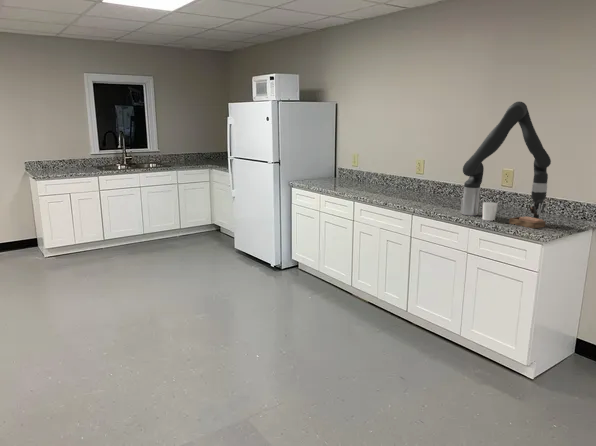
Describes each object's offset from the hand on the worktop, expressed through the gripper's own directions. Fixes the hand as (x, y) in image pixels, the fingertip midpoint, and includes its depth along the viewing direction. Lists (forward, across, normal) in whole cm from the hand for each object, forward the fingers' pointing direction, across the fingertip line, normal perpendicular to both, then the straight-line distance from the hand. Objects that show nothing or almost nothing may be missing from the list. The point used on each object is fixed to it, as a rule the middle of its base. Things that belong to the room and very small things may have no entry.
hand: (535, 220), depth 264 cm
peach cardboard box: (+2, +5, 0) cm, 6 cm away
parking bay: (+2, +8, 0) cm, 8 cm away
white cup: (+2, +15, -20) cm, 25 cm away
